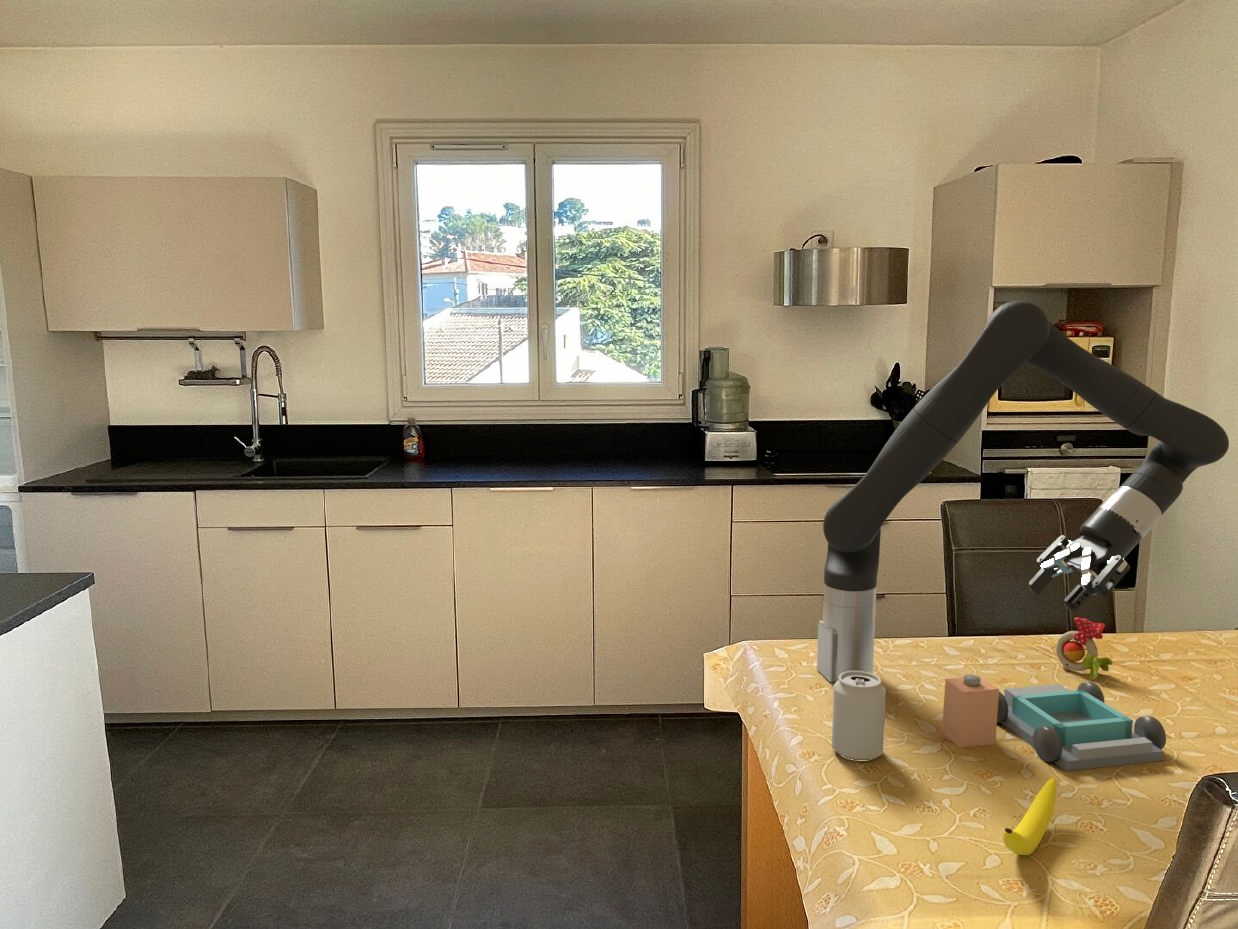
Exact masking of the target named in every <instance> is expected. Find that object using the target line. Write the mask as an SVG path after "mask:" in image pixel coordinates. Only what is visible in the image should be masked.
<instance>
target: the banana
mask: <svg viewBox="0 0 1238 929" xmlns="http://www.w3.org/2000/svg"><path fill="white" fill-rule="evenodd" d="M1056 796H1057V777H1055V776H1053V777H1051V779H1048V781H1047V782H1046V783H1045V784H1044V785H1043V786H1042V788H1041V789H1040V790H1039V791H1038V793H1037V795H1036V796H1035V798H1034V799H1033V801H1032V803H1031V805H1030V806H1029V808H1028V809H1027V811H1026V813H1025V814H1024V816H1023V817H1022V819H1021V820H1020V822H1019V823H1018V825H1017V826H1016V827H1015V828H1014V829H1011V828H1008V827H1005V828H1004V831H1003V833H1002V839H1003V842H1004V846H1005V847H1006V849H1008V850H1010V851H1011V852H1013V853H1014V854H1015V855H1017V856H1030V855H1031V854H1033V853H1034V852H1035V850H1036V849H1037V847H1038V846H1039V844H1040V842H1041V840H1042V839H1043V837H1044V835H1045V833H1046V830H1047V828H1048V827H1049V824H1050V822H1051V820H1052V817H1053V814H1054V812H1055V811H1054V810H1055V806H1056V798H1057V797H1056Z"/></svg>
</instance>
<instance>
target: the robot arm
mask: <svg viewBox="0 0 1238 929" xmlns="http://www.w3.org/2000/svg"><path fill="white" fill-rule="evenodd" d="M1025 364H1028V365H1030V366H1032V367H1035V368H1037V369H1038V370H1041V371H1043V372H1045V374H1048V375H1049V376H1051V378H1054V379H1055V380H1057V381H1058V382H1059V383H1061V384H1062V385H1064V386H1066V387H1067V389H1068V388H1069V389H1070V390H1071V391H1072V392H1073V393H1074V394H1076V395H1077V396H1078V397H1080V398H1081V399H1082V400H1083V401H1085V402H1086V403H1087V404H1089V405H1090V406H1091V407H1093V408H1094V409H1095V410H1097V411H1098V412H1100V413H1101V414H1102V415H1104V416H1106V417H1107V418H1108V419H1109V420H1112V421H1113V422H1114V423H1116V424H1118V425H1119V426H1121V427H1122V428H1124V429H1125V430H1127V431H1129V432H1130V433H1132V434H1134V435H1136V436H1147V437H1151V438H1154V439H1155V440H1157V441H1156V443H1155V444H1154V446H1152V447H1151V449H1150V450H1149V452H1148V454H1147V455H1146V457H1145V458H1144V460H1143V461H1142V462H1141V465H1139V467H1138V468H1137V469H1135V470H1134V472H1132V474H1130V475H1129V477H1128V478H1127V479H1126V480H1125V481H1124V482H1123V483H1122V484H1121V486H1119V487H1118V488H1117V489H1116V490H1115V491H1114V492H1112V493H1111V494H1110V495H1109V496H1108V497H1107V498H1106V499H1105V500H1104V501H1103V502H1102V503H1101V504H1100V505H1099V506H1098V507H1097V509H1096V510H1094V511H1093V513H1092V514H1091V515H1090V516H1088V518H1087V519H1086V520H1085V522H1083V523H1082V524H1081V526H1080V527H1079V533H1080V534H1079V537H1077V538H1076V539H1074V540H1072V541H1071V540H1069V539H1068V538H1067V537H1066V536H1065V535H1063V534H1062V535H1061V534H1060V536H1059V537H1057V538H1056V540H1054V541H1053V542H1052V543H1051V545H1049V546H1048V547H1047V548H1046V549H1045V551H1043V552H1042V553H1041V554H1040V555H1039V557H1037V558H1036V562H1037V563H1038V564H1039V566H1040V567H1041V568H1040V570H1038V572H1037V573H1036V574H1035V575H1034V576H1033V577H1032V578H1031V579H1030V580H1029V583H1028V584H1027V588H1028V589H1029V590H1030V591H1031V592H1032V593H1033V594H1035V595H1039V594H1040V593H1042V592H1043V591H1044V590H1045V588H1046V587H1047V586H1048V585H1049V584H1050V583H1051V582H1052V581H1053V580H1054V578H1055V577H1057V576H1059V575H1061V574H1065V575H1066V574H1070V573H1076V574H1081V576H1082V577H1081V582H1080V584H1081V585H1080V584H1077V585H1076V586H1075V587H1074V588H1073V590H1072V591H1071V592H1070V593H1069V594H1068V595H1067V596H1066V597H1065V598H1064V599H1063V600H1062V605H1064V607H1065V608H1066V609H1067V610H1068V611H1071V612H1075V611H1077V610H1078V609H1079V608H1081V607H1082V606H1083V605H1084V603H1086V601H1087V600H1088V599H1089V598H1090V597H1091V596H1096V595H1097V594H1101V596H1103V597H1105V596H1108V595H1109V594H1110V593H1111V591H1112V590H1113V589H1114V588H1115V587H1116V586H1117V585H1118V584H1119V583H1120V581H1121V580H1122V579H1123V577H1124V576H1125V575H1126V574H1127V573H1128V572H1129V570H1130V569H1131V566H1130V565H1129V563H1128V562H1127V561H1126V560H1125V558H1126V557H1127V556H1128V555H1129V554H1130V552H1131V551H1132V550H1133V549H1134V548H1135V547H1136V546H1137V545H1138V544H1139V543H1140V541H1142V540H1143V539H1144V537H1146V536H1147V534H1148V533H1150V531H1151V530H1152V529H1153V528H1154V526H1155V525H1156V524H1157V522H1158V520H1159V519H1160V518H1161V516H1163V514H1164V513H1165V512H1167V510H1168V509H1169V508H1170V507H1171V506H1172V505H1173V504H1174V503H1175V502H1176V500H1177V499H1178V498H1179V496H1180V495H1181V493H1182V491H1183V488H1184V485H1183V484H1184V482H1185V481H1186V480H1187V479H1188V478H1189V476H1191V474H1192V473H1194V471H1196V470H1197V469H1198V468H1199V467H1200V468H1201V467H1204V466H1207V465H1210V464H1211V465H1212V464H1214V463H1216V462H1218V461H1219V460H1221V459H1222V458H1224V456H1225V455H1226V454H1227V452H1228V450H1229V447H1230V446H1229V445H1230V441H1229V436H1228V434H1227V432H1226V430H1225V429H1224V428H1223V427H1222V426H1221V425H1220V424H1219V423H1218V422H1217V421H1215V420H1214V419H1213V418H1211V417H1209V416H1208V415H1205V414H1204V413H1202V412H1199V411H1197V410H1195V409H1193V408H1189V407H1188V406H1186V405H1183V404H1181V403H1178V402H1175V401H1172V400H1171V399H1168V398H1166V397H1164V396H1162V395H1161V394H1160V393H1159V392H1157V391H1156V390H1154V389H1152V388H1151V387H1149V386H1148V385H1146V384H1144V383H1143V382H1141V381H1140V380H1138V379H1137V378H1135V377H1134V376H1132V375H1130V374H1129V373H1127V372H1126V371H1124V370H1122V369H1120V368H1119V367H1116V366H1115V365H1114V364H1112V363H1110V362H1107V361H1106V360H1104V359H1102V358H1100V357H1098V356H1096V355H1094V354H1093V353H1092V352H1090V351H1088V350H1087V349H1085V348H1084V347H1082V346H1080V344H1077V343H1076V342H1074V340H1072V339H1070V338H1069V337H1068V336H1066V334H1064V333H1063V332H1061V330H1060V329H1058V328H1057V327H1056V326H1055V325H1054V324H1053V323H1052V322H1051V321H1050V320H1049V318H1048V316H1047V314H1046V312H1045V311H1044V309H1042V308H1041V307H1040V306H1039V305H1038V304H1035V303H1034V302H1030V301H1028V300H1012V301H1007V302H1005V303H1003V304H1001V305H1000V306H998V307H997V308H996V309H995V310H993V312H992V313H991V314H990V316H989V318H988V319H987V324H986V325H985V327H984V329H983V330H982V332H981V333H980V334H979V336H978V338H977V339H976V340H975V342H974V343H973V345H972V346H971V347H970V349H969V350H968V352H966V354H965V356H964V357H963V358H962V359H961V360H960V361H959V363H958V364H957V365H956V366H955V367H954V368H953V369H952V370H951V371H950V372H949V373H948V374H946V376H945V377H943V378H942V379H941V380H940V381H939V382H937V383H936V385H934V386H933V387H932V388H931V389H930V390H929V391H928V392H927V393H926V394H925V395H924V396H923V397H922V398H921V399H920V400H919V401H918V402H917V403H916V404H915V406H914V407H913V408H912V409H911V410H910V411H909V413H908V414H907V415H906V417H904V419H903V420H902V421H901V423H899V425H898V426H897V427H896V429H894V432H893V433H892V435H890V437H889V439H888V440H887V441H886V443H885V444H884V446H883V447H882V449H881V451H880V452H879V454H878V455H877V457H876V458H875V460H874V462H873V463H872V465H871V466H870V467H869V469H868V470H867V472H866V473H865V474H864V475H863V476H862V478H860V480H859V481H858V482H857V483H856V484H855V485H854V486H853V487H852V488H851V489H850V490H849V491H848V492H847V493H846V494H845V495H842V496H840V497H839V498H838V499H836V501H834V502H833V504H832V505H831V506H830V507H829V508H828V510H827V511H826V513H825V515H824V518H823V522H822V523H823V524H822V525H823V526H822V529H823V534H824V537H825V540H826V542H827V553H826V561H825V565H824V571H823V572H824V573H823V599H822V600H823V606H822V620H819V621H818V622H817V623H818V624H817V654H816V655H817V656H816V658H817V660H816V670H817V671H818V672H819V673H820V674H821V675H822V676H823V677H824V678H825V679H826V680H827V681H828V682H830V683H836V682H837V681H838V680H839V678H838V676H839V675H840V674H841V673H843V672H847V671H864V672H869V673H872V674H874V673H873V672H874V656H875V655H874V653H875V652H874V651H875V629H876V628H875V627H876V626H875V625H876V609H877V608H876V606H877V604H876V603H877V583H878V581H877V580H878V573H879V565H880V549H881V548H880V547H881V537H882V536H881V533H882V532H881V531H882V526H883V525H884V524H885V521H886V520H887V519H888V517H889V516H890V515H891V513H892V512H893V510H894V509H895V508H896V507H897V505H898V504H899V503H900V502H901V501H902V500H903V498H905V497H906V496H907V495H908V493H910V492H911V491H912V490H913V489H914V488H915V487H917V485H919V483H921V482H922V481H923V480H924V479H926V477H927V476H929V474H930V473H931V472H932V471H934V469H935V468H936V467H937V466H938V465H939V464H940V463H942V461H943V460H944V459H945V458H946V457H947V456H948V454H950V452H951V451H952V450H953V449H954V448H955V446H957V445H958V443H959V442H960V441H961V439H963V437H964V436H965V435H966V433H967V432H968V431H969V429H970V428H971V427H972V425H973V424H974V423H975V421H976V420H977V419H978V417H979V416H980V415H981V413H982V412H983V411H984V409H985V407H987V405H988V403H989V402H990V400H991V399H992V397H993V396H994V395H995V394H996V393H997V392H998V390H999V389H1000V388H1001V387H1002V385H1004V384H1005V383H1006V382H1007V381H1008V380H1009V379H1010V378H1011V377H1012V376H1013V375H1014V374H1015V373H1016V372H1017V371H1018V370H1019V369H1020V368H1021V367H1022V366H1023V365H1025ZM1051 556H1052V558H1051V559H1049V558H1050V557H1051ZM1048 559H1049V560H1048ZM1064 560H1065V561H1064ZM1056 566H1057V567H1056ZM1106 580H1107V581H1106ZM1105 581H1106V583H1105ZM1104 583H1105V584H1104Z"/></svg>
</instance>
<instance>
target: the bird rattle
mask: <svg viewBox="0 0 1238 929" xmlns="http://www.w3.org/2000/svg"><path fill="white" fill-rule="evenodd" d="M1073 621H1074V623H1075V625H1076V628H1077V629H1078V630H1069V631H1067V632H1065V633H1063V634H1062V635H1060V636H1059V638H1058V639H1057V641H1056V644H1055V654H1056V656H1057V658H1058V660H1059V661H1060V663H1061V664H1062V669H1063V670H1064V671H1075V672H1080V671H1081V672H1082V671H1086V670H1089V679H1090V680H1091V681H1094V680H1095V679H1096V678H1097V677H1098V675H1099V668H1100V669H1101V670H1102V671H1103V672H1109V671H1110V667H1109V665H1110V666H1111V665H1113V659H1111V658H1109V657H1107V656H1103V657H1098V656H1099V651H1098V647H1097V645H1096V643H1095V641H1094V638H1095V639H1096V640H1102V639H1103V637H1104V636H1103V633H1102V632H1103V630H1104V629H1105V627H1106V626H1105V623H1102V622H1092V621H1091V620H1089V619H1088V618H1082V617H1074V618H1073ZM1086 651H1087V652H1086Z"/></svg>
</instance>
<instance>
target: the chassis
mask: <svg viewBox="0 0 1238 929" xmlns="http://www.w3.org/2000/svg"><path fill="white" fill-rule="evenodd" d="M1003 692H1004V694H1003V693H1002V692H1001V691H1000V690H999V698H998V712H997V723H998V724H999V723H1000V724H1002V725H1003V726H1005V728H1007V729H1008V730H1010V731H1011V732H1013V734H1015V735H1016V736H1018V737H1019V738H1021V739H1022V740H1023V741H1024V742H1026V743H1027V744H1028V745H1030V746H1031V747H1032V748H1034V750H1035V753H1036V754H1037V756H1038V757H1039V759H1041V760H1042V761H1043V762H1046V763H1054V764H1055V765H1056V766H1058V767H1059V768H1060V769H1062V770H1063V771H1064V772H1068V771H1078V770H1080V771H1081V770H1088V769H1097V768H1106V767H1107V768H1108V767H1115V766H1116V767H1117V766H1124V765H1133V764H1134V765H1136V764H1143V763H1152V762H1162V761H1163V760H1164V750H1163V749H1164V748H1165V746H1166V742H1167V734H1166V730H1165V728H1164V726H1163V724H1162V723H1161V722H1160V721H1159V720H1158V719H1157V718H1156V717H1154V716H1152V715H1151V716H1150V715H1149V716H1148V715H1146V716H1140V717H1138V718H1136V720H1135V722H1134V720H1133V719H1131V718H1130V717H1129V716H1126V715H1125V714H1123V713H1122V712H1120V711H1118V710H1117V709H1115V708H1113V707H1112V706H1110V705H1108V704H1107V703H1105V696H1104V694H1103V691H1102V689H1101V687H1100V686H1099V684H1098V685H1097V683H1095V682H1093V681H1092V682H1091V681H1090V682H1081V683H1080V684H1079V685H1078V688H1077V689H1075V690H1074V689H1073V690H1070V689H1068V688H1066V687H1065V686H1063V685H1062V684H1061V683H1053V684H1052V683H1051V684H1042V685H1032V686H1031V685H1029V686H1020V687H1010V688H1009V687H1008V688H1004V691H1003ZM1133 724H1134V725H1133Z"/></svg>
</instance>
